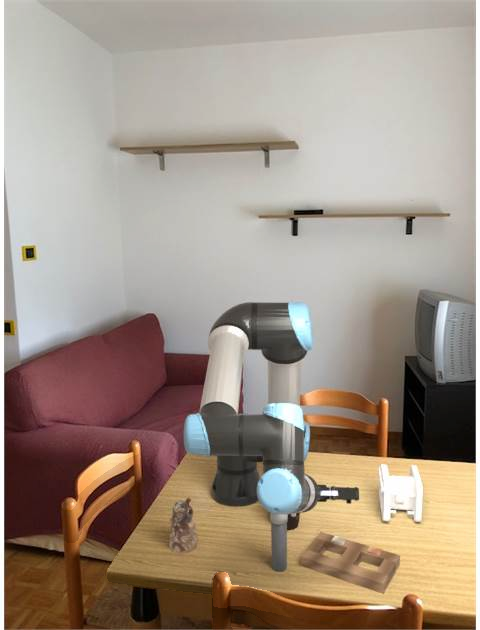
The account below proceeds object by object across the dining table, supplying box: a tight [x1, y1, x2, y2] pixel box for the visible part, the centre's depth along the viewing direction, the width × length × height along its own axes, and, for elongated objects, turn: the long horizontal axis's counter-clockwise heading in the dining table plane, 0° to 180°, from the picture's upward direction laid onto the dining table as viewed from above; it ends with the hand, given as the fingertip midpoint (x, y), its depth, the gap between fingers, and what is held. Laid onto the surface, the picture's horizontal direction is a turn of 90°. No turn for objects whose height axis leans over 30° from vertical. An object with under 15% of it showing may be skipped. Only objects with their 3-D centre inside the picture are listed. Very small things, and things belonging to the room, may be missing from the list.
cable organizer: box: [378, 463, 424, 523], centre depth 157 cm, size 15×11×12 cm
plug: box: [269, 512, 288, 573], centre depth 133 cm, size 4×4×14 cm
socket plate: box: [299, 531, 401, 595], centre depth 135 cm, size 20×12×3 cm, turn 58°
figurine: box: [168, 497, 199, 554], centre depth 143 cm, size 7×7×12 cm
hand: (319, 493), depth 131 cm, fingers open, 13 cm apart
